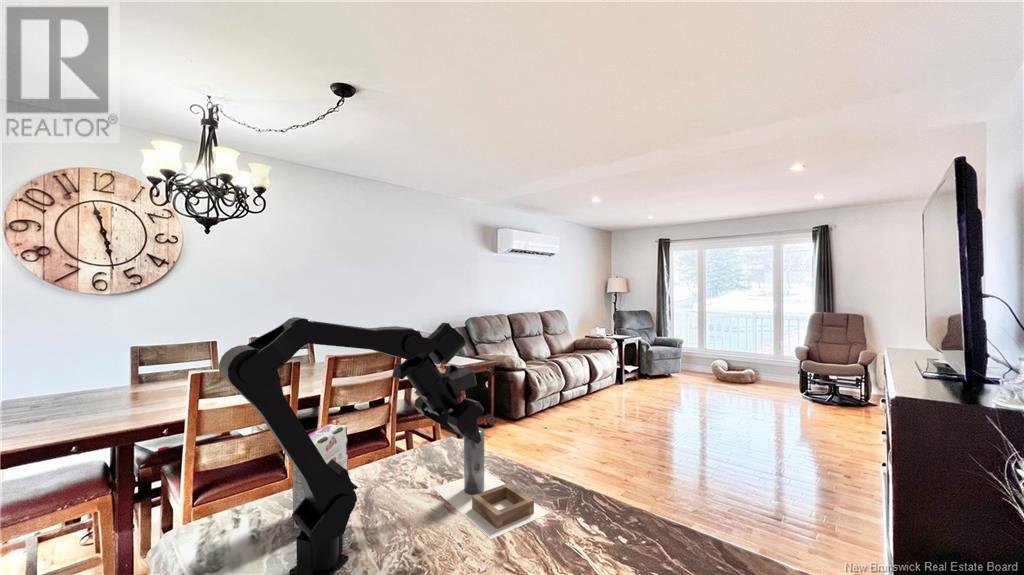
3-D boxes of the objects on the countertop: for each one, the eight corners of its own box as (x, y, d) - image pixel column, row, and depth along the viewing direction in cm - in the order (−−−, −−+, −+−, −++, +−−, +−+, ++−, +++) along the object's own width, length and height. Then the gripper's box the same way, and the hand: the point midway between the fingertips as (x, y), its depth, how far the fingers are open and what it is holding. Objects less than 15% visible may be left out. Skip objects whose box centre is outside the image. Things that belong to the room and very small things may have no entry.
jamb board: (549, 517, 81) (549, 512, 81) (490, 544, 73) (490, 539, 73) (485, 474, 100) (485, 470, 100) (432, 492, 91) (432, 488, 91)
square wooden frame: (534, 513, 81) (533, 500, 81) (497, 529, 76) (497, 515, 76) (507, 494, 88) (507, 483, 88) (472, 508, 83) (472, 495, 83)
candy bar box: (328, 499, 89) (327, 422, 89) (349, 501, 88) (348, 424, 88) (290, 529, 78) (289, 442, 78) (314, 532, 77) (313, 444, 77)
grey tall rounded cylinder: (479, 496, 88) (478, 435, 87) (460, 492, 89) (460, 432, 89) (487, 486, 92) (487, 428, 92) (469, 483, 93) (469, 426, 93)
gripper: (482, 359, 78) (519, 418, 83) (435, 349, 93) (469, 400, 98) (439, 401, 72) (482, 461, 78) (396, 383, 87) (435, 435, 92)
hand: (467, 436), depth 87 cm, fingers open, 9 cm apart
